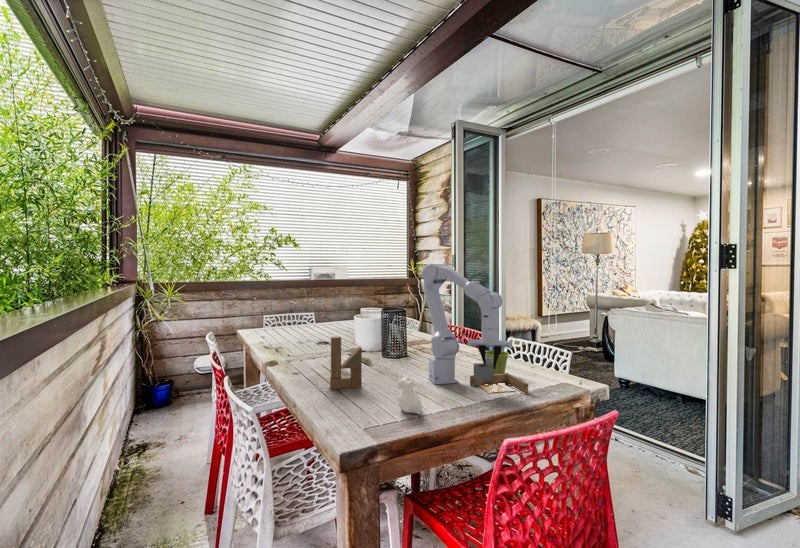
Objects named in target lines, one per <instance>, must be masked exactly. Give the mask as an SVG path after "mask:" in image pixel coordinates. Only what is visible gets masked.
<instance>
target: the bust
mask: <svg viewBox="0 0 800 548" xmlns="http://www.w3.org/2000/svg"><path fill="white" fill-rule="evenodd" d="M396 384H397V385H396V386H397V387H396V388H397V389H400V390H401V391H400V394H399V395H398V400H397V402H398V406H399V408H400V409H401V411H403V412H404V413H405V414H406V413H408V414H417V415H421V414H422V411H423V405H422V401H421V399H420V397H419V394H418V393H417V392H416V391H415V390H414V387H415V385H416V384H415V382H413V380H412V379H410V377H407V376H406V375H405V376H404V377H400V378H398V379H397V382H396Z"/></svg>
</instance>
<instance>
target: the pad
mask: <svg viewBox="0 0 800 548" xmlns="http://www.w3.org/2000/svg"><path fill="white" fill-rule="evenodd" d="M491 385H493V384H488V385H479V386H480V387H481V388H480V389H482V388H483V389H484V390H483V389H482V390H483V391H485V390H487V391H488V392H490V391H489V390H491V391H492V388H491V387H493V386H491ZM496 385H498V384H496ZM479 386H478V387H479ZM489 386H491V387H489ZM498 386H499V387H502V388H504V387H503V386H500V385H498ZM499 387H497V388H498V389H497V392H501V393H504V392H503V391H501V390H499V389H502V388H499ZM494 388H495V387H494ZM488 392H487V393H488ZM492 392H494V391H492Z"/></svg>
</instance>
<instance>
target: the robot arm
mask: <svg viewBox="0 0 800 548" xmlns="http://www.w3.org/2000/svg"><path fill="white" fill-rule="evenodd" d="M421 274H422V278H423V291H424V295H425V299H426V304H427V307H428V312H429V315H430V320H431V324H432V327H433V332H434V333H433V335H432V337H431V338H430V341H431V353H432V355H433V356H434V357H430V358H429V360H428V378H427V379H428V380H429V381H430V382H432V384H434V385H446V384H458V383H460V381H458V379H457V378H456V357H457V354H458V353H459V350H460V343H459V340H457V339H456V336H455V334H454V332H452V331H451V330H450V328H449V324H448V321H447V317H446V313H445V309H444V306H443V301H442V297H441V294H440V289H441V287H442V286H443V285H444V283H446V282H447V281H450V282H452V283H453V284H455V285H456V286H458V287H460V288H461V289H463V291H464V294H465V295H466V296H468V297H469V298H470V299H472V300H474V301H475V302H476V303H477V304H478V307H479V308H480V313H481V333H480V334H481V339H468V340H467V347H478V352H479V354H480V356H481V360H482V364H486V351H487V350H486V349H487V348H493V350H494V361H493V365H494V369H495V368H496V363H497V360H498V357H499V355H500V353H501V351H503V348H509V349H513V341H512V340H511V341H508V340H499V339H500V338H499V336H500V335H499V334H500V333H499V332H500V331H499V329H500V328H499V327H500V326H499V325H500V318H499V317H500V308H501V307H502V305H503V298H502V296H501V295H500V294H499V292H497V291H491V289H490V288H487V287H485V286H483V285H482V284H481V282H480V281H479V280H471V281H470V280H468V279H467V278H466V277H465V276H463V274H461V273H459V271H457V270H455V269H454V268H453V266H451V265H449V264H448V263H430V262H429V263H427V264H426V265H424V268H423V269H422V272H421Z"/></svg>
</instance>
